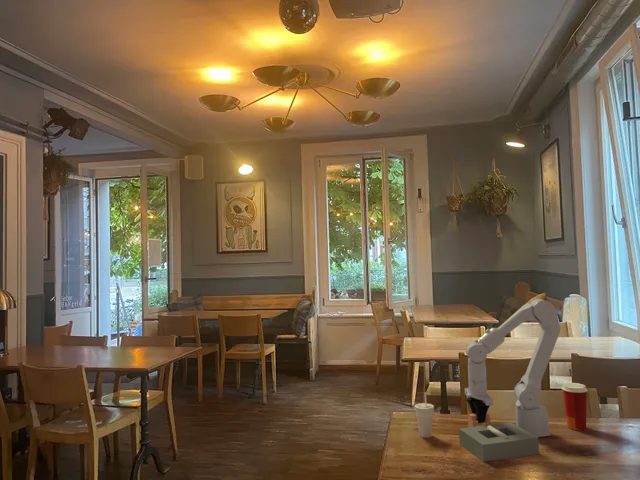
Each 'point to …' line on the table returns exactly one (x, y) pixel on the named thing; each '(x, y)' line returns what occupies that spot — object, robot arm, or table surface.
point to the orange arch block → (473, 422)
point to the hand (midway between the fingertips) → (479, 421)
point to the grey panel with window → (498, 441)
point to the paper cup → (575, 405)
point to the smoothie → (424, 418)
